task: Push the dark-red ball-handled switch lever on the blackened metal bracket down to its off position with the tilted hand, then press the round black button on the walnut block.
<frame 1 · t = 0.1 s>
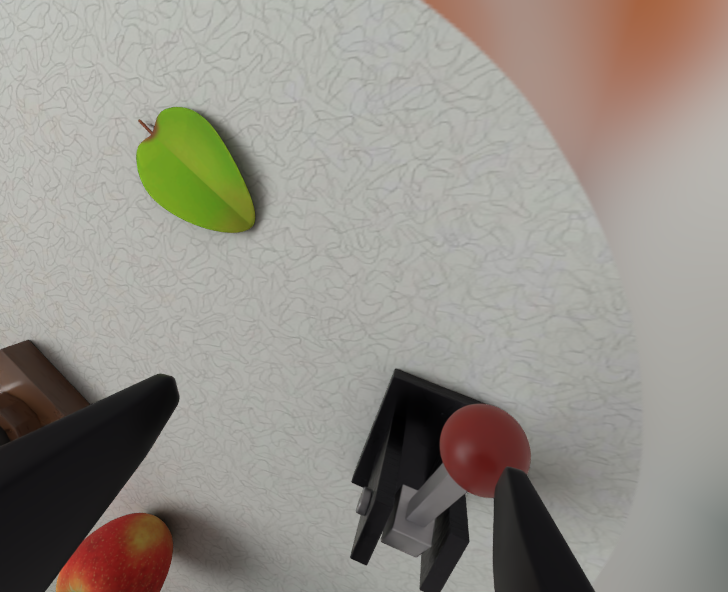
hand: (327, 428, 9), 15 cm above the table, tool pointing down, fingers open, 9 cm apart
button block: (38, 412, 34), on the table
apple: (159, 524, 35), on the table
switch: (439, 491, 17), point 9 cm above the table, hinge at 25.0°
decorative leaf: (199, 169, 24), on the table
bracket: (417, 440, 27), on the table
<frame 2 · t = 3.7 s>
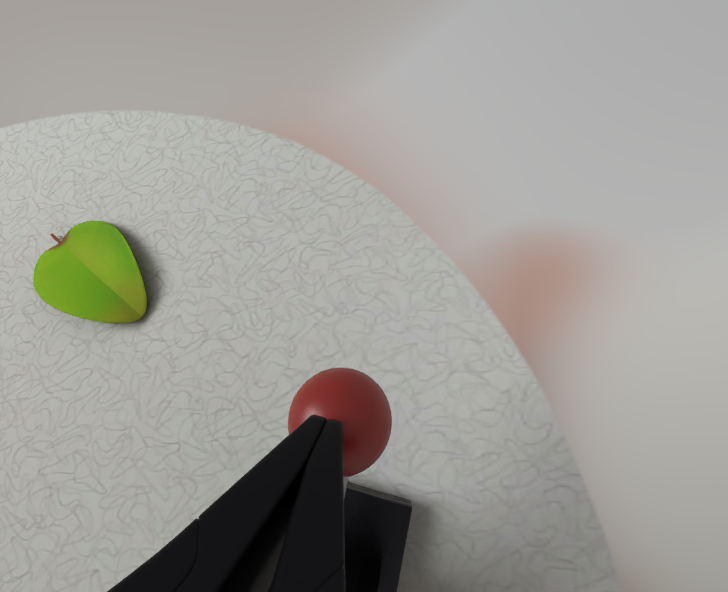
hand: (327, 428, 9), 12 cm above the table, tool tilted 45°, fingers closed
switch: (314, 557, 12), point 9 cm above the table, hinge at 20.8°, touching gripper
decorative leaf: (100, 270, 25), on the table
bracket: (328, 581, 19), on the table
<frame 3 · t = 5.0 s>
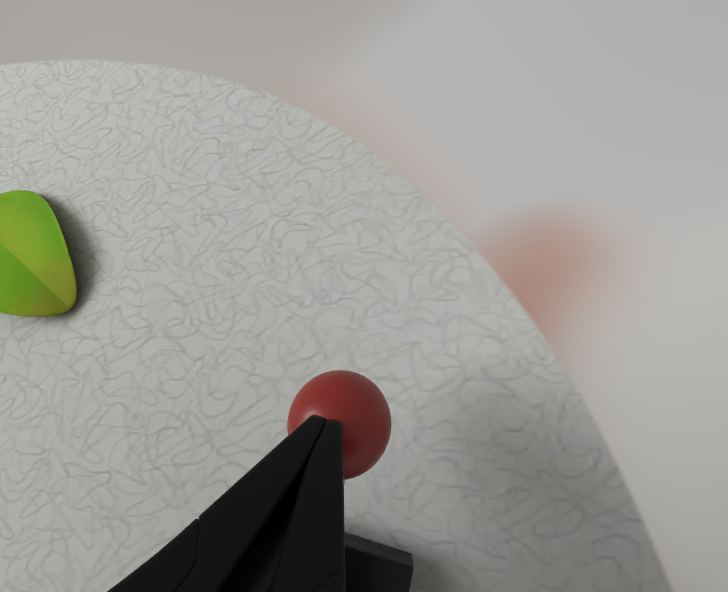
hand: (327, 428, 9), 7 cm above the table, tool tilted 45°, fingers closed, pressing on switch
decorative leaf: (23, 251, 20), on the table
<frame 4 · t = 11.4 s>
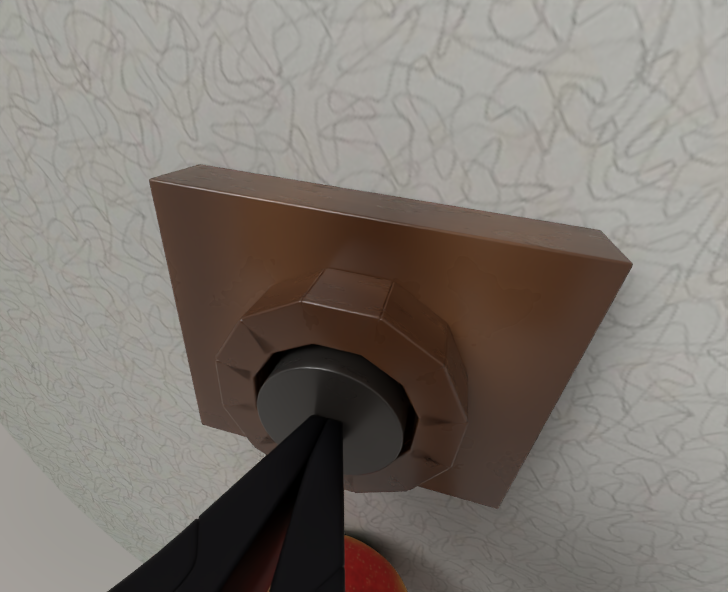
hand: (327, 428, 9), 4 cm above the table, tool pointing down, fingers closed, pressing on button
button block: (365, 329, 13), on the table
apple: (356, 542, 21), on the table
button: (336, 402, 10), point 4 cm above the table, slide at -0.8 cm, touching gripper
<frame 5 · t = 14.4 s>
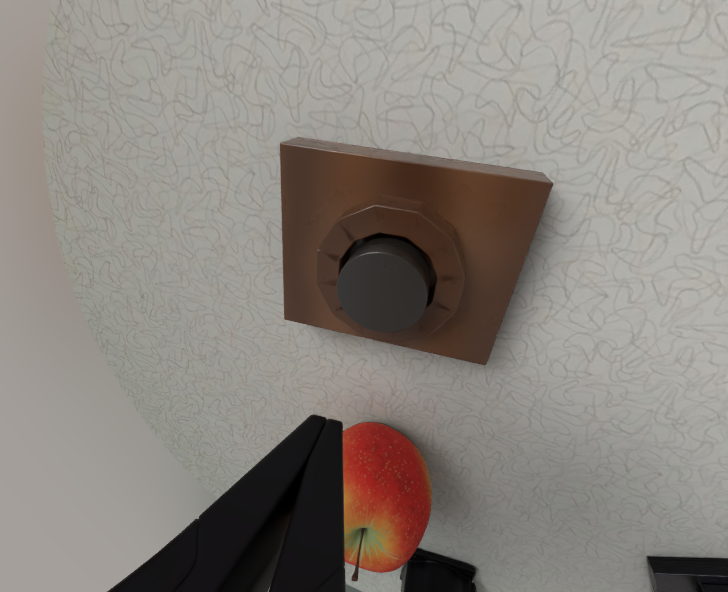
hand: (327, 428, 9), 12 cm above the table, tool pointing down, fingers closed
button block: (399, 248, 20), on the table
apple: (381, 434, 28), on the table
button: (384, 285, 16), point 4 cm above the table, slide at 0.1 cm
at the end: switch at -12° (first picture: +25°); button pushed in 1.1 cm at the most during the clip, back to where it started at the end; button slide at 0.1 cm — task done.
